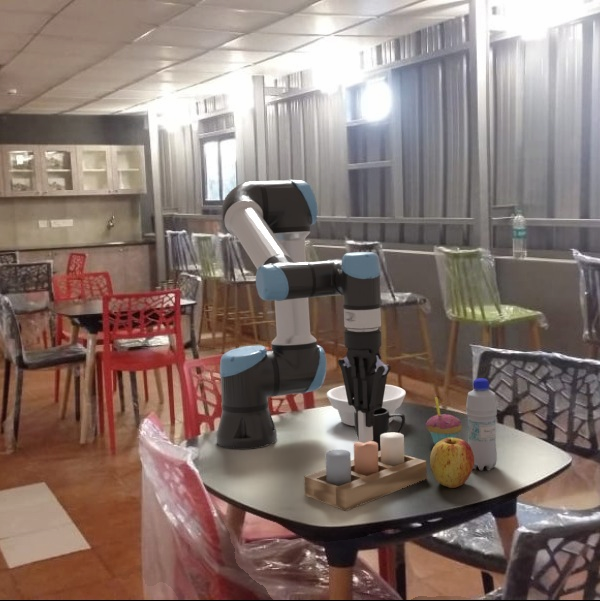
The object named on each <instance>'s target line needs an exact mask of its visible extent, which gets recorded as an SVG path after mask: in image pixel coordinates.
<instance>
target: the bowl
mask: <svg viewBox="0 0 600 601" xmlns="http://www.w3.org/2000/svg"><path fill="white" fill-rule="evenodd" d="M406 394H407V393H406V390H405V389H403V388H401V387H400V386H397V385H392V384H386V385H385V391H384V398H383V404H382V407H383V408H386V409H388V410H389V414H396V410H397V409H398V408H400V407H401V406H402V403H403V401H404V398H405V396H406ZM326 396H327V398H328V400H329V404H330V405H331V407H333V408H334V409H335V410H337V412H338V414H339V417H340V421H341V423H343V424H345V425H347V426H352V427H355V422H354V411H355V408H354V406H352V405H351V406H350V405H349V404H348V400H347V395H346V390H345V385H340V386H336V387H334V388H331V389H330V390H328V391H327V392H326ZM353 399H354V398H353ZM393 420H394V417H391V418H389V424H390V423H391V422H392V421H393Z"/></svg>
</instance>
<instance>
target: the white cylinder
mask: <svg viewBox="0 0 600 601" xmlns="http://www.w3.org/2000/svg"><path fill="white" fill-rule="evenodd" d="M380 446H381V463H384V464H387V465H390V466H396V465H399V464H402V463H404V455H405V435H404V434H403V433H401V432H400V433H397V432H394V431H393V432H391V431H390V432H388V433H384V434H381V435H380Z"/></svg>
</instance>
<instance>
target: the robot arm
mask: <svg viewBox="0 0 600 601" xmlns="http://www.w3.org/2000/svg"><path fill="white" fill-rule="evenodd" d="M318 210H319V209H318V203H317V198H316V196H315V193H314V190H313V189H312V187H311V185H310V184H309V183H307V182H306V181H304V180H299V179H298V180H297V179H283V180H282V179H279V180H277V179H276V180H259V181H258V180H257V181H256V180H253V181H252V180H250V181H249V180H248V181H245V182H242V183H240V184H238V185H236V186H235V187H233V189H231V190H230V191H229V192H228V194H227V195H226V196H225V198H224V200H223V202H222V206H221V209H220V211H221V213H220V214H221V220H222V222H223V225H224V227H225V228H226V230H227V231H228V232H229V233H230V235H232V236H235V237H236V238H237V239H238V242H239V243H240V244H241V246H242V248H243V249H244V251H245V253H246V255H247V256H248V257H249V258H250V261H251V262H252V263H253V265H254V266H255V268H256V273H255V286H256V287H255V288H256V290H257V294H258V296H259V298H260V299H261V300H263V301H266V302H267V301H268V302H270V301H271V302H272V301H274V312H275V313H274V314H275V325H276V327H275V328H276V329H275V330H276V336H275V338H274V339H273V340H272V341H271V350H268V349H267V348H266V347H265V346H263V345H259V344H256V345H245V346H240V347H236V348H233V349H231V350H228V351H226V352H225V353H224V354H222V355H221V357H220V361H219V363H220V365H219V376H220V390H221V391H220V392H221V395H220V396H221V416H220V418H219V419H220V420H219V424H218V427H217V431H216V444H218V445H219V446H220V447H224V448H226V449H234V450H235V449H237V450H249V449H257V448H262V447H266V446H269V445H271V444H273V443H275V442H276V441H277V439H278V437H277V435H278V434H277V428H276V426H275V422H274V419H273V417H272V414H271V412H270V408H269V398H272V397H280V396H281V397H282V396H288V395H295V394H307V393H310V392H311V393H312V392H314V391H315V392H316V391H318V390H319V389H320V388H321V387H322V386H323V384H324V381H325V379H326V375H327V366H328V365H327V364H328V363H327V362H328V361H327V357H326V352H325V350H324V348H323V346H320V345H318V344H317V343H318V341H317V338H316V337H314V335H312V334H311V326H310V324H311V322H310V307H309V306H310V304H309V299H310V298H322V297H333V296H335V297H336V296H342V299H343V300H342V301H343V324H344V326H343V327H345V328H346V329H345V331H344V332H343V333H344V334H343V335H344V347H345V349H347V351H346V356H344V358H340V359H338V361H337V363H338V366H339V369H340V370H341V374H342V379H343V384H344V385H345V390H346V395H347V400H348V404H349V405H350V406H351V405H352V406H354V408H355V410H356V422H357V424H358V430H359V441H358V442H362V443H366V442H369V441H372V440H373V426H374V424H375V422H374V411H375V410H377V409H380V408H382V404H383V398H384V391H385V385H387V378H388V375H389V373H390V371H391V366H390V364H385V362H383V361H382V356H381V353H380V349H381V347H382V344H383V343H382V330H381V329H380V328H381V326H382V315H381V269H380V260H379V259H380V258H379V255H378V254H377V253H376V252H370V251H369V252H368V251H363V252H362V251H357V252H346V253H345V254H344V255H343V256H342V257H341V258H331V259H327V260H319V261H318V260H317V261H307V258H306V257H307V256H306V238H307V237H308V236H309V234H311V227H312V226H314V225H315V224H316V222H317V220H318V217H317V216H318ZM344 385H343V386H344ZM353 398H354V399H353Z"/></svg>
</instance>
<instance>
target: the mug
mask: <svg viewBox="0 0 600 601" xmlns="http://www.w3.org/2000/svg"><path fill="white" fill-rule="evenodd" d="M391 417H393V418H394V417H400V418H401V423H400V426H399V428H398V429H397V432H396V433H401V432H402V430H403V428H404V427H405V423H406V415H405V414H403V413H394V414H389V410H388V409H386V408H383V407H382V408H380V409H377V410H375V411H374V422H375V424H374V426H373V440H372V441H374V442H376V443H378V451H381V446H380V435H381V434H384V433H389V429H390V423H389V418H391ZM354 422H355V426H354V429H355V434H356V438H357V442H359V430H358V424H357V422H356V410H355V411H354Z"/></svg>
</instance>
